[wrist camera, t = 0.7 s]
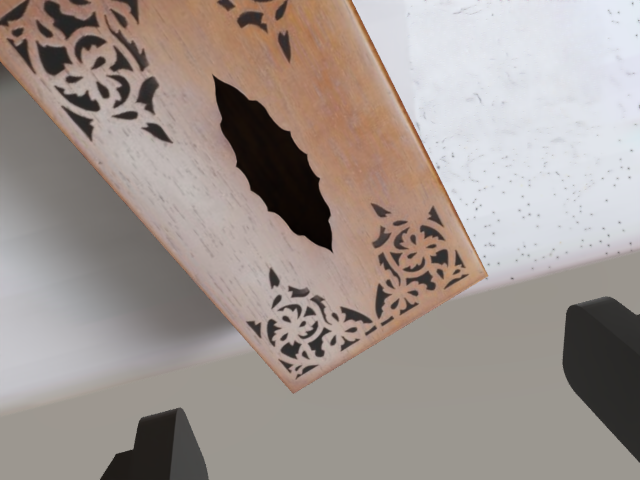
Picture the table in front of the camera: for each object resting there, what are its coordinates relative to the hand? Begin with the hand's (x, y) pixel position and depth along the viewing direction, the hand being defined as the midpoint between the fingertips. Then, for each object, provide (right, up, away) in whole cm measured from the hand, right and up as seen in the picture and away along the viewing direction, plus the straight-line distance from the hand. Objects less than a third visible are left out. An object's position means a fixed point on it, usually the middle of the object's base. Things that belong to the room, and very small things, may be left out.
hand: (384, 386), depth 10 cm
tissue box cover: (-5, +11, +24) cm, 27 cm away
